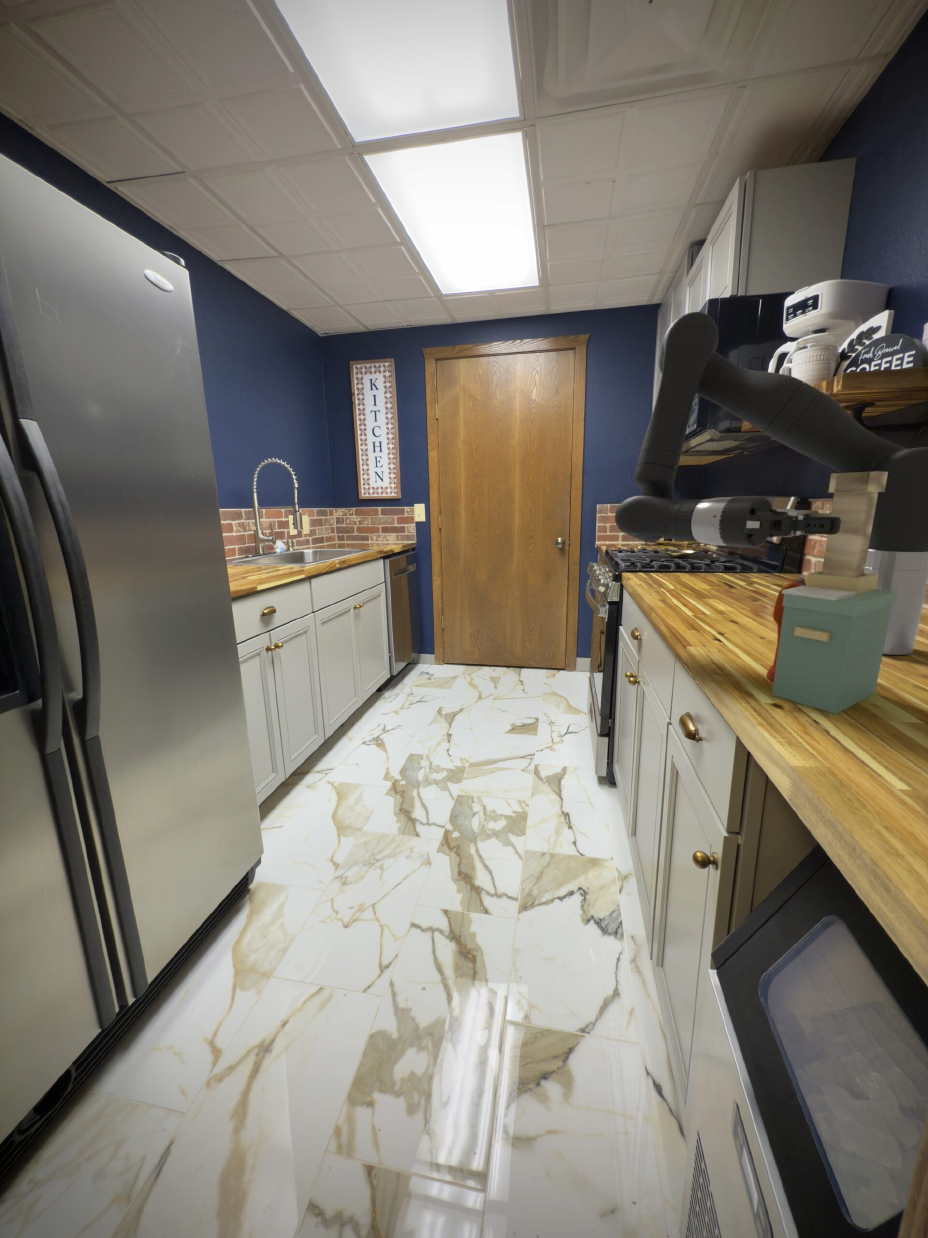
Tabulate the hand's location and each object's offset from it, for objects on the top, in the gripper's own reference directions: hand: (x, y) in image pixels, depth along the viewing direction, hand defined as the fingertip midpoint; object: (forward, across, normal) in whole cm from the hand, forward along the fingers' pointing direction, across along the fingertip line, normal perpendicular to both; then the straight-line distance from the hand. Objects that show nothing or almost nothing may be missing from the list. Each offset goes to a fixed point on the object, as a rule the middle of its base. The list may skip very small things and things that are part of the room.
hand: (853, 524), depth 64 cm
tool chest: (+1, -3, +22) cm, 23 cm away
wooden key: (0, 0, +8) cm, 9 cm away
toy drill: (-7, +4, +23) cm, 24 cm away
